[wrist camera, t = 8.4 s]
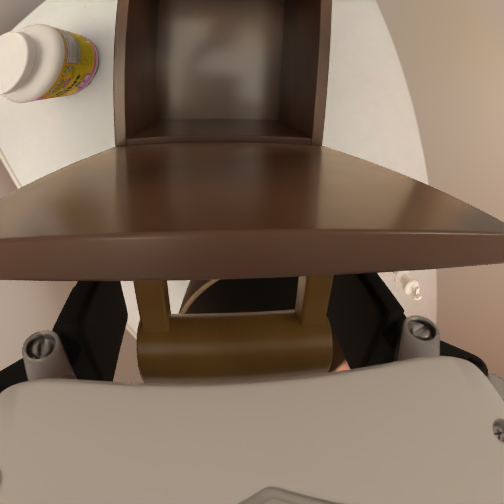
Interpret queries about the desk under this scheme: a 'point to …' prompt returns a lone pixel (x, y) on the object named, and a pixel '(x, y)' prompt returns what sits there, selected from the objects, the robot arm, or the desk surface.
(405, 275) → the chess piece
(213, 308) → the flower pot
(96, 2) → the desk surface
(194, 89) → the chest
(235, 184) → the brown wooden box lid
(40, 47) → the supplement bottle
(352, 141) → the desk surface
